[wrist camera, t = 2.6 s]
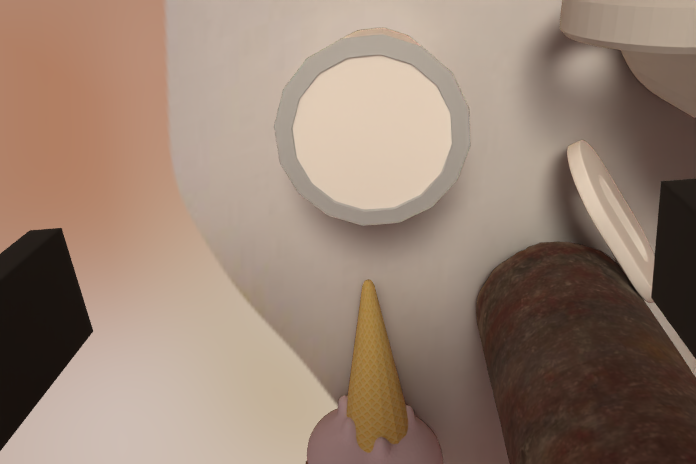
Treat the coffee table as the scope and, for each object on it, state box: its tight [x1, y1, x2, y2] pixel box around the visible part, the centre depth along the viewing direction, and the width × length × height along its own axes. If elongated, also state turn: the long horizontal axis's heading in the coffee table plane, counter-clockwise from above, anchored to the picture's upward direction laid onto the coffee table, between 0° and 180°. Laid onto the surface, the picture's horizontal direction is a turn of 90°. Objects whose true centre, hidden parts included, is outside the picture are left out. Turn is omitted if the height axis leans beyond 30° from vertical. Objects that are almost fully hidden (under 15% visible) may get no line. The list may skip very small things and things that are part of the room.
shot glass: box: [274, 28, 470, 226], centre depth 26 cm, size 7×7×7 cm
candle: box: [476, 242, 696, 464], centre depth 23 cm, size 8×7×20 cm
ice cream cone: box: [306, 280, 443, 464], centre depth 33 cm, size 6×7×15 cm
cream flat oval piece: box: [567, 140, 655, 303], centre depth 28 cm, size 8×1×5 cm, turn 36°
